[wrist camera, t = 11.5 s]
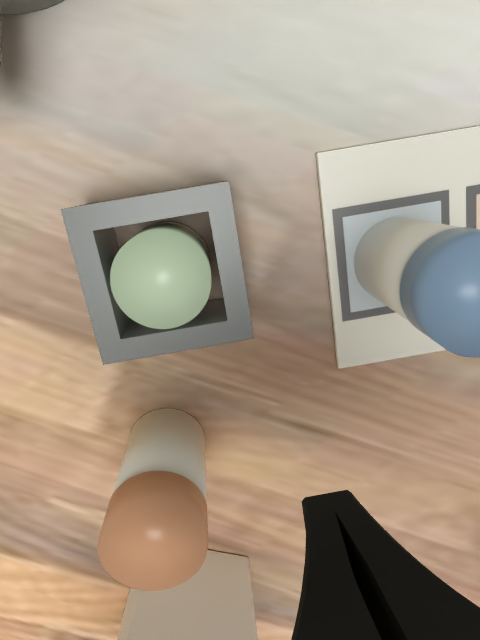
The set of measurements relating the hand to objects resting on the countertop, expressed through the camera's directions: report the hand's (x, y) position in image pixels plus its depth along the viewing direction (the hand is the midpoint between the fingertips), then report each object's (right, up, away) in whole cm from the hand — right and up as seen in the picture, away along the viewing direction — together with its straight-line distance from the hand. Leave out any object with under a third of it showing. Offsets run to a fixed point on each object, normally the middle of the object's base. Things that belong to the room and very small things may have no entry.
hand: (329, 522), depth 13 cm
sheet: (+7, +9, +8) cm, 14 cm away
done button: (-6, +8, +7) cm, 12 cm away
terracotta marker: (-6, 0, +10) cm, 12 cm away
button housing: (-6, +8, +7) cm, 13 cm away
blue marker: (+5, +8, +8) cm, 12 cm away
